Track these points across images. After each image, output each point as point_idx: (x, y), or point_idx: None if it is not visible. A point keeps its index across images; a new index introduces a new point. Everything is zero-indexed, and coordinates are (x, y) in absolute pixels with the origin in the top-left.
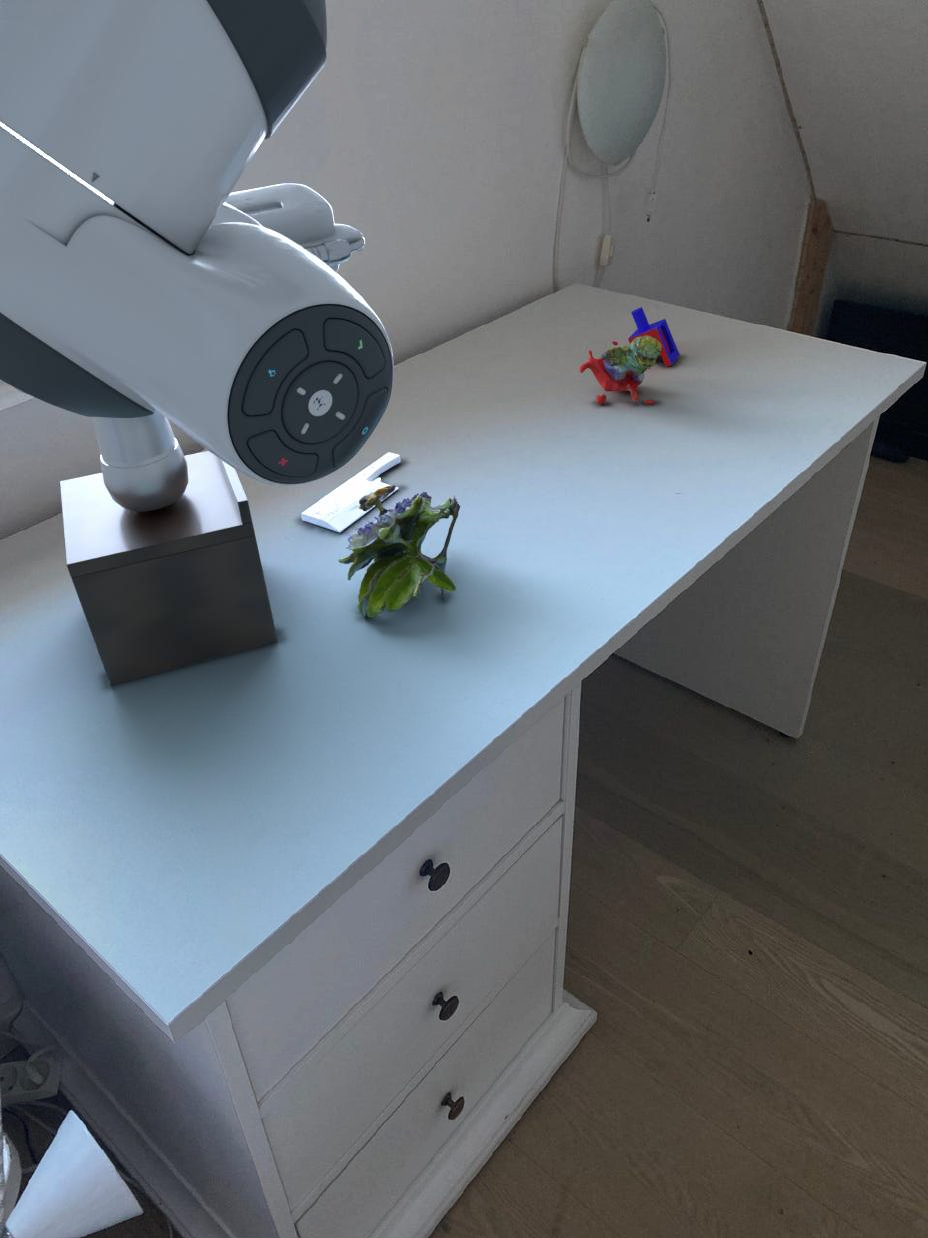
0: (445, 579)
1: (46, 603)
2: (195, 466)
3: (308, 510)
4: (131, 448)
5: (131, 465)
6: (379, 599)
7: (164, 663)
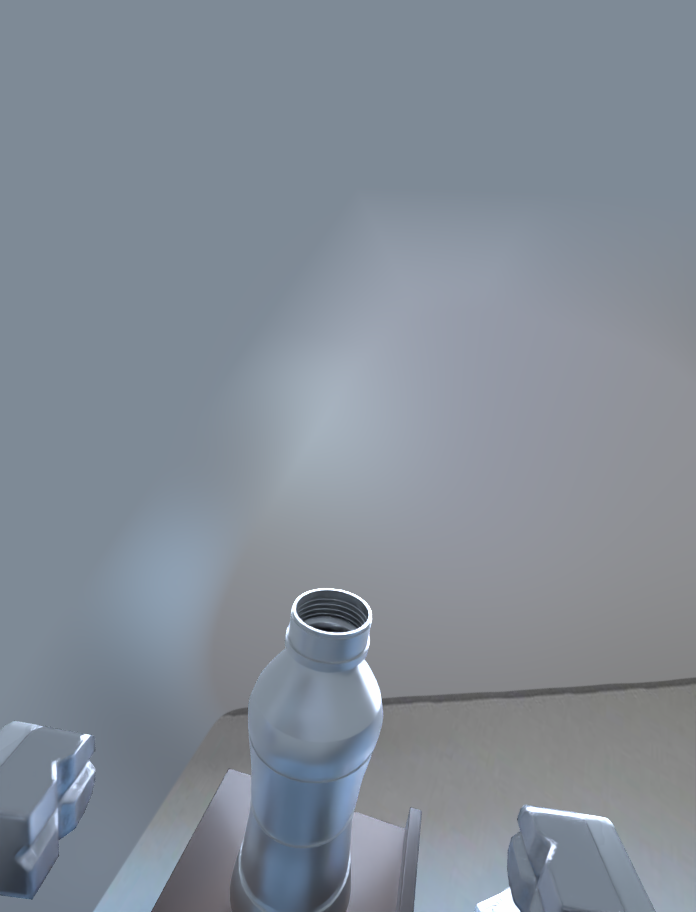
0: None
1: (170, 855)
2: (369, 856)
3: (486, 905)
4: (270, 888)
5: (261, 904)
6: None
7: None
